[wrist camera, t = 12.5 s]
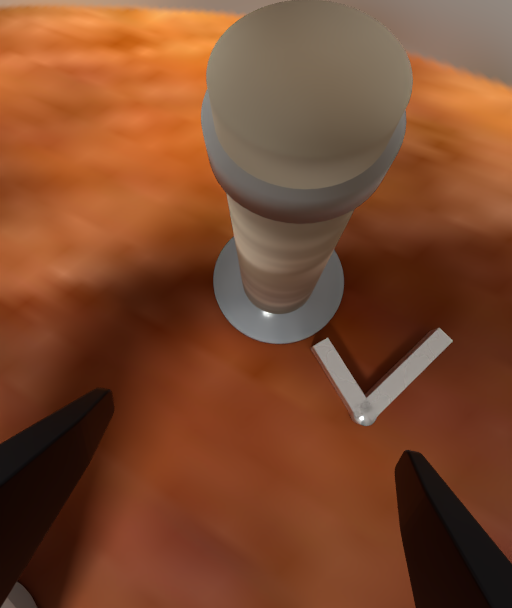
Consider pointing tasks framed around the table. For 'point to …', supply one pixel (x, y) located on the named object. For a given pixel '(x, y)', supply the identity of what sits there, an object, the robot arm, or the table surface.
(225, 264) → the coaster
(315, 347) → the bent rod
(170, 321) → the table surface
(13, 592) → the travel mug
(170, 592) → the table surface
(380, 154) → the ringed post
